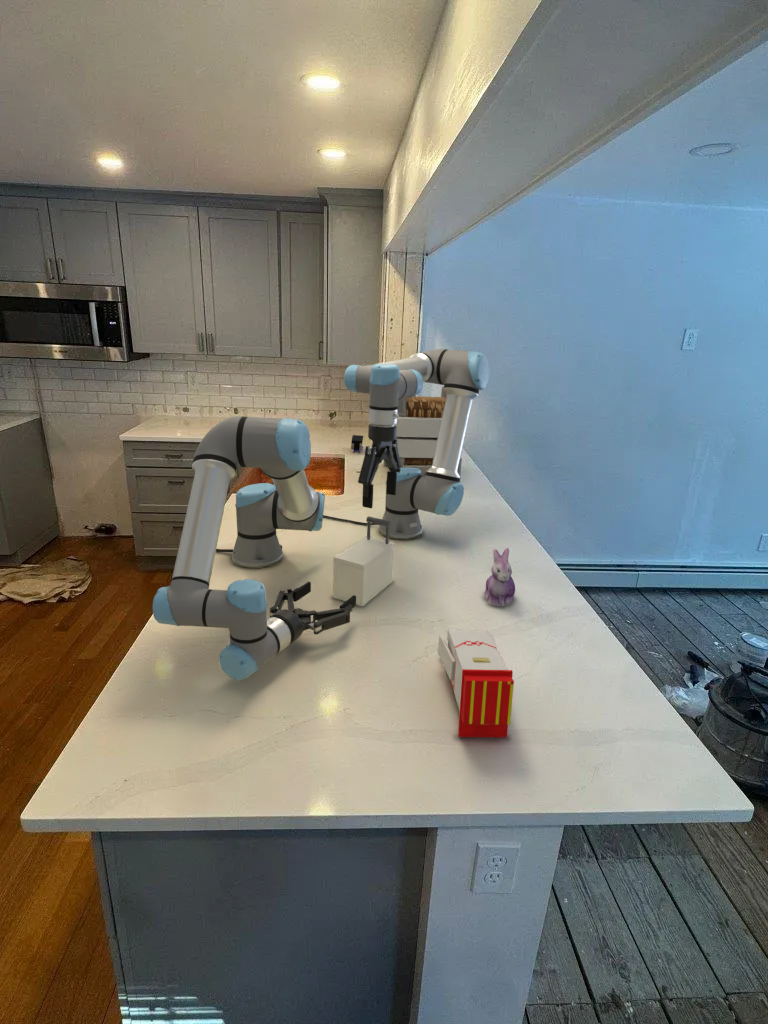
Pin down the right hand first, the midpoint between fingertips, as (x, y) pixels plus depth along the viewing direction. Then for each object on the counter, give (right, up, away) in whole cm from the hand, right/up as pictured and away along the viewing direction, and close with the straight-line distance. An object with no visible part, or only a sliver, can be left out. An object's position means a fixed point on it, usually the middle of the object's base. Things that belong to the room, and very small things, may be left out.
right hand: (379, 500), depth 157 cm
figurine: (+33, -27, 0) cm, 43 cm away
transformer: (+19, +16, +118) cm, 120 cm away
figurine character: (-14, +31, +155) cm, 158 cm away
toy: (+19, -41, -39) cm, 59 cm away
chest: (-5, -25, +2) cm, 25 cm away
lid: (-4, -15, -1) cm, 15 cm away
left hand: (-12, -24, -14) cm, 30 cm away
